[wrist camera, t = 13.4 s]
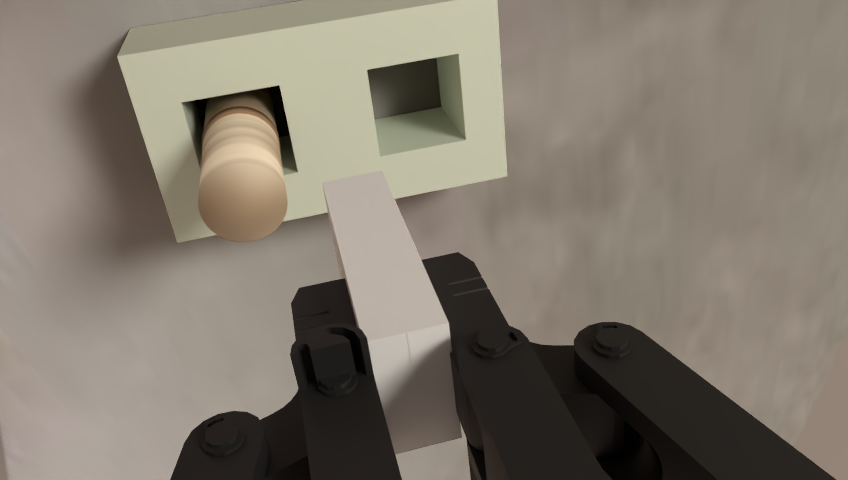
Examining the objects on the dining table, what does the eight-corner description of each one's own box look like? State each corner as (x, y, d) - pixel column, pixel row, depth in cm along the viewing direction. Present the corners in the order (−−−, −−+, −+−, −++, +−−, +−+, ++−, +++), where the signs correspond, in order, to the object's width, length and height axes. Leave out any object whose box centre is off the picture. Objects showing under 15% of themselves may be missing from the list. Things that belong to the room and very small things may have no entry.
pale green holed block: (130, 28, 43) (117, 56, 38) (466, -26, 45) (496, -7, 40) (182, 198, 48) (177, 242, 43) (479, 140, 51) (507, 176, 46)
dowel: (197, 78, 45) (186, 172, 33) (265, 66, 45) (278, 154, 34) (215, 141, 47) (210, 251, 35) (280, 129, 48) (296, 233, 36)
